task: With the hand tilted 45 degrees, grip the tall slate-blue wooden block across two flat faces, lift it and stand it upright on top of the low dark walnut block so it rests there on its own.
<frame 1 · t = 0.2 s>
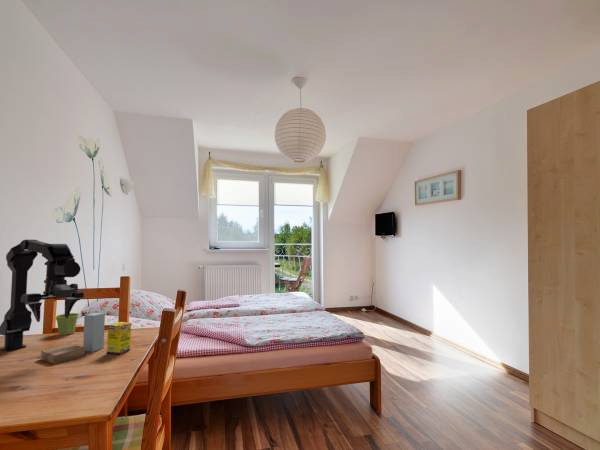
hand: (52, 319, 122), 14 cm above the table, tool pointing down, fingers open, 9 cm apart
walnut block: (63, 357, 123), on the table
slate block: (93, 349, 133), on the table
plant pot: (66, 334, 156), on the table
supplement box: (118, 352, 130), on the table
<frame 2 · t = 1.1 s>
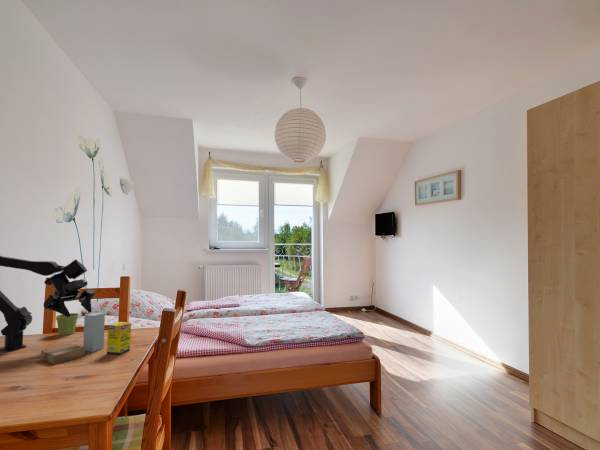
hand: (80, 314, 136), 13 cm above the table, tool tilted 45°, fingers open, 9 cm apart
nothing on the table moved.
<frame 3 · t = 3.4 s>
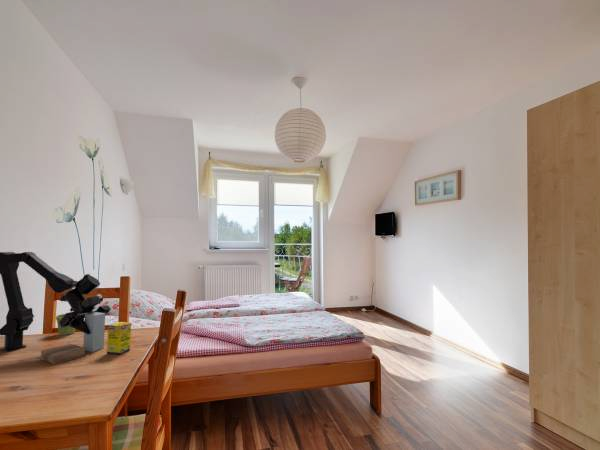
hand: (96, 331, 133), 7 cm above the table, tool tilted 45°, fingers open, 6 cm apart
slate block: (93, 349, 133), on the table, touching gripper
everything else where it was.
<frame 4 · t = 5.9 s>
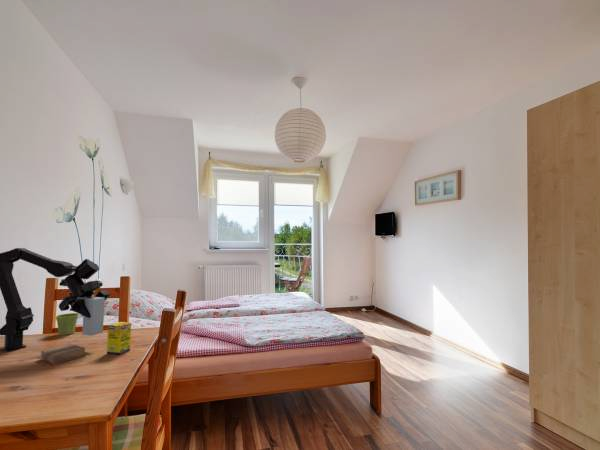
hand: (96, 315, 133), 13 cm above the table, tool tilted 45°, fingers closed on slate block, 5 cm apart
slate block: (92, 333, 133), point 6 cm above the table, touching gripper
everything else where it was.
when the fingers open (11 cm above the table, at t = 8.0 s): slate block stays where it is, resting on walnut block.
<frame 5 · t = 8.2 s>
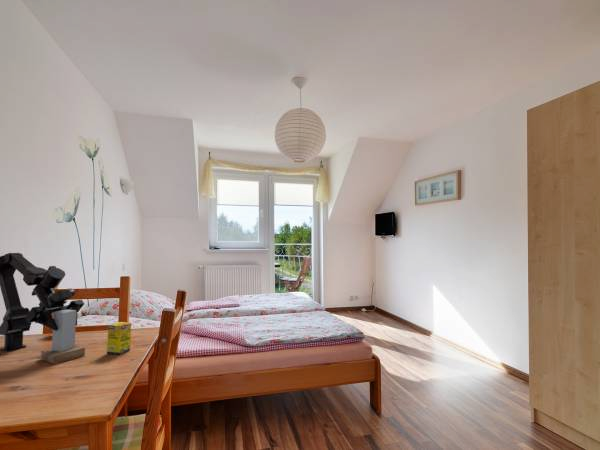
hand: (66, 327, 123), 11 cm above the table, tool tilted 45°, fingers open, 7 cm apart
slate block: (63, 349, 123), point 3 cm above the table, touching walnut block
everything else where it was.
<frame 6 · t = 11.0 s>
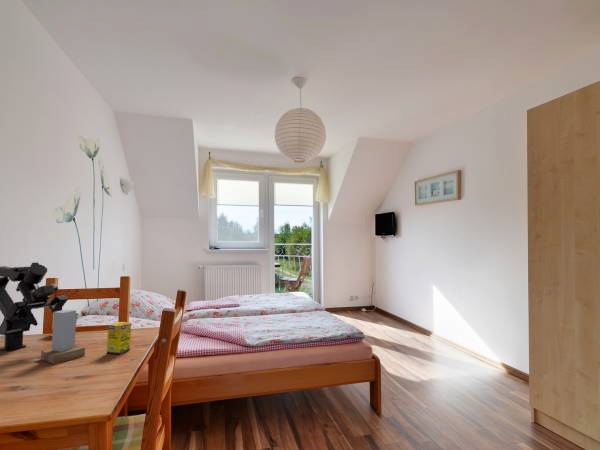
hand: (49, 322, 127), 12 cm above the table, tool tilted 45°, fingers open, 9 cm apart
nothing on the table moved.
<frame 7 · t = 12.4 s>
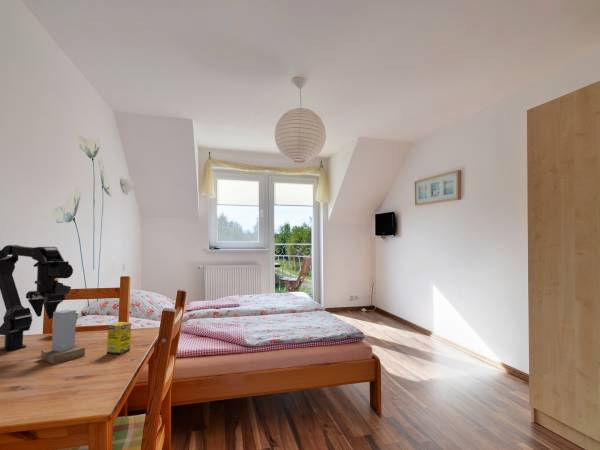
hand: (44, 317, 131), 13 cm above the table, tool pointing down, fingers open, 9 cm apart
nothing on the table moved.
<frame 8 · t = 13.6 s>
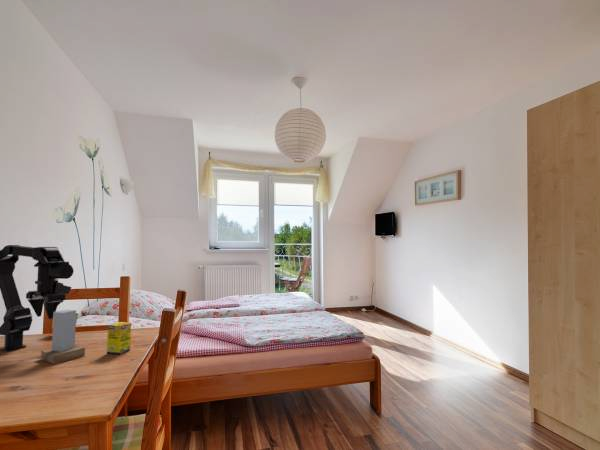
hand: (44, 317, 131), 13 cm above the table, tool pointing down, fingers open, 9 cm apart
nothing on the table moved.
at the end: slate block 0.1 cm off-centre on the walnut block, point 3.0 cm above the walnut block's base; slate block tilted 0°; the gripper is holding nothing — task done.
